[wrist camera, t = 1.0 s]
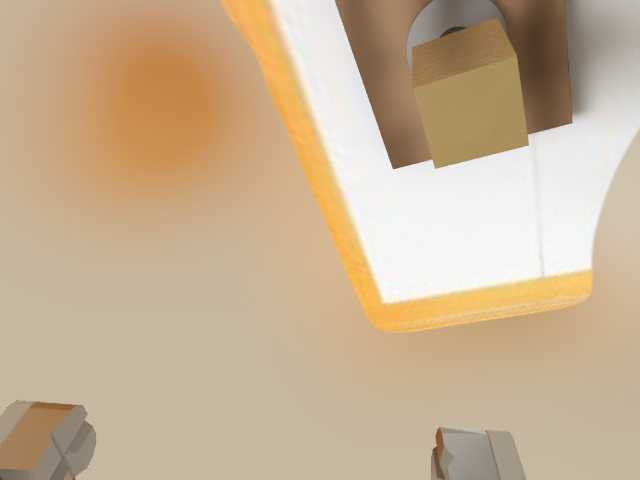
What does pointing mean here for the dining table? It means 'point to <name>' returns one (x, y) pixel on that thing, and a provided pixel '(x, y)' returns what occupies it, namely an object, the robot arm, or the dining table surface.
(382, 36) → the walnut board
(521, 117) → the wooden cube block
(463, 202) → the dining table surface
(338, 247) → the dining table surface
